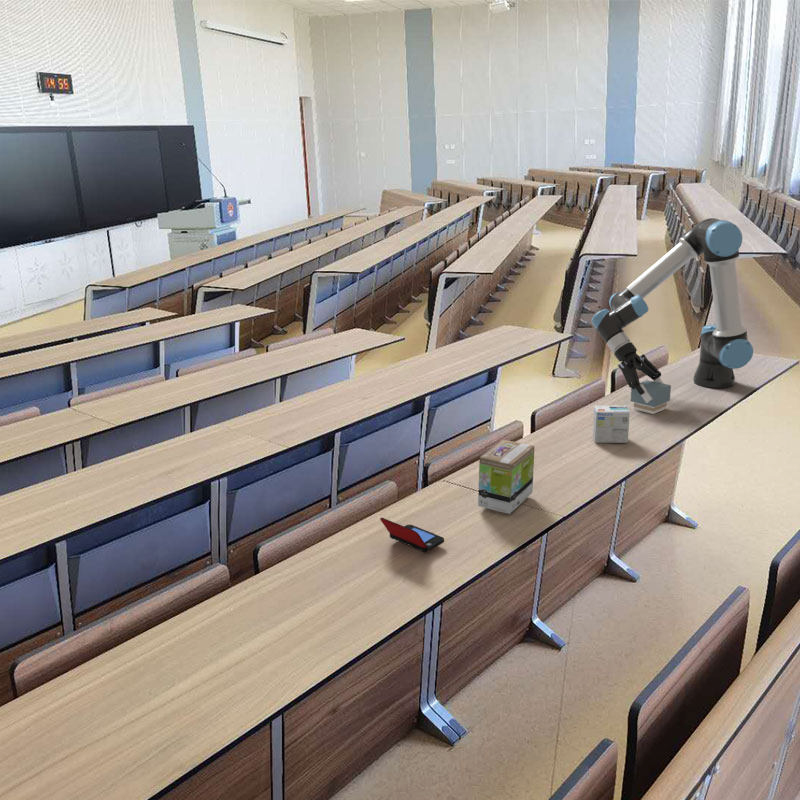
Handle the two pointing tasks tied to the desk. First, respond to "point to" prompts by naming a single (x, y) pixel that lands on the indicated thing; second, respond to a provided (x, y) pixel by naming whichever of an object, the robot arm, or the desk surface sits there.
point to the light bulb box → (611, 424)
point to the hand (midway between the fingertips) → (658, 397)
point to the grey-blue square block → (652, 393)
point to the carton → (649, 408)
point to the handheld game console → (413, 536)
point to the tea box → (505, 476)
